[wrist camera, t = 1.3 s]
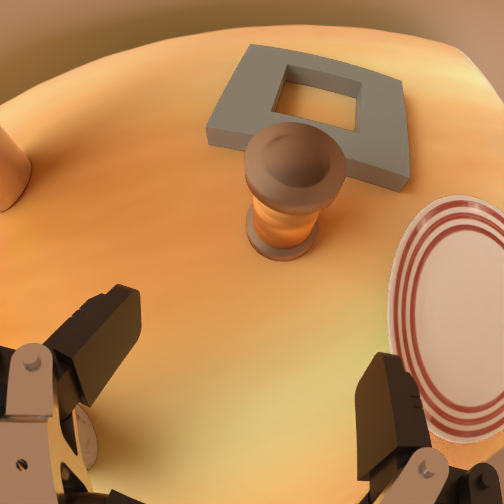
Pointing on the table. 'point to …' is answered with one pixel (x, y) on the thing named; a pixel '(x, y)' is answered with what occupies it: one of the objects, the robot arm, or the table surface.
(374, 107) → the grey rectangular frame
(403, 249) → the dinner plate
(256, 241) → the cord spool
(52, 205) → the table surface
